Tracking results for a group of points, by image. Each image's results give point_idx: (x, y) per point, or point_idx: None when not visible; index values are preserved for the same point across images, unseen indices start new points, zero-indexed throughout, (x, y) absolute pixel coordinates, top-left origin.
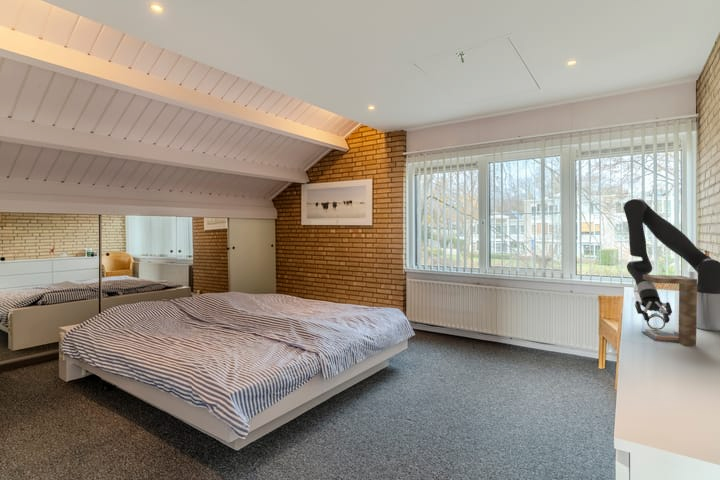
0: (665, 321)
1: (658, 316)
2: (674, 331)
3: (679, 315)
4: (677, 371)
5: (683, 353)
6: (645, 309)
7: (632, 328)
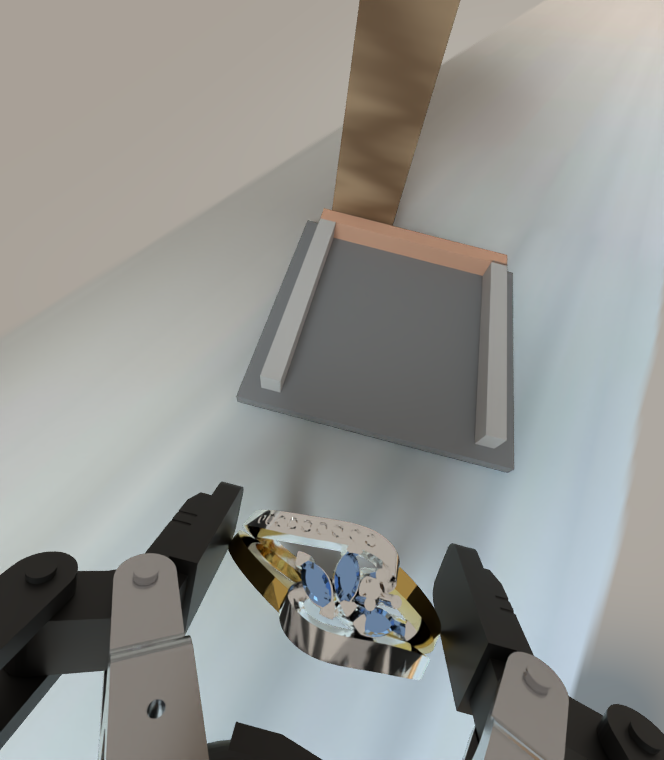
0: (228, 540)
1: (302, 584)
2: (282, 375)
3: (450, 30)
4: (572, 50)
5: (473, 130)
6: (544, 732)
7: None
